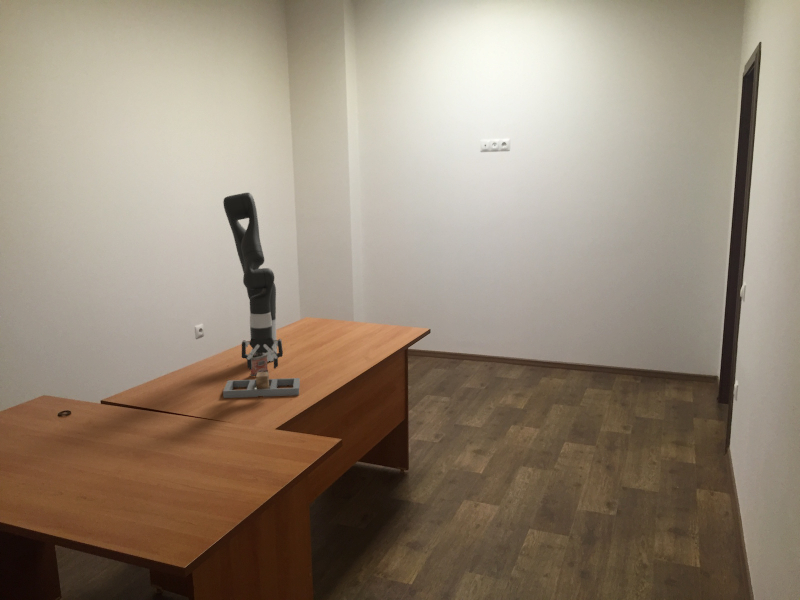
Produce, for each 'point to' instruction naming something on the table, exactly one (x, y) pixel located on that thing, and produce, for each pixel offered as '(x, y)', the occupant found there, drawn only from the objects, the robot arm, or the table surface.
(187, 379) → the table surface
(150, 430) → the table surface
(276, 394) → the grey compartment tray
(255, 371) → the lighter
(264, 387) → the wooden block
